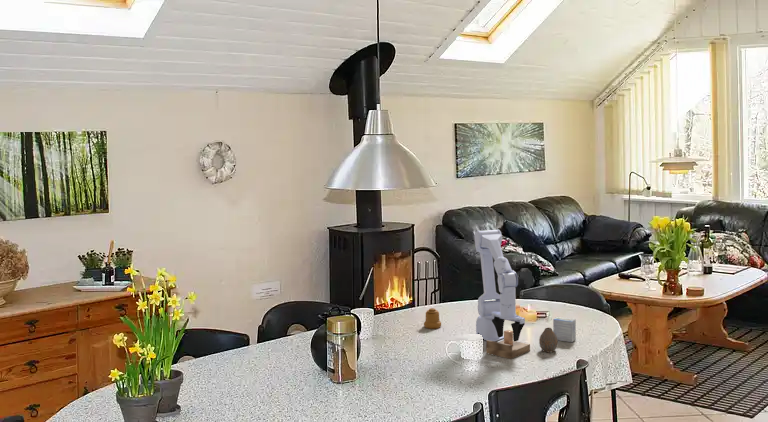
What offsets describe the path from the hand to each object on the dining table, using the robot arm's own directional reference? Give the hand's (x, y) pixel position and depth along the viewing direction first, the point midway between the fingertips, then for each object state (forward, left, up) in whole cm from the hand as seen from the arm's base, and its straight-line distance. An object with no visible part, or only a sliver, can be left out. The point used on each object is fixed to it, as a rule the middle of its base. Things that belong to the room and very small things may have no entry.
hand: (508, 338), depth 298 cm
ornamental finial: (-45, +10, -6) cm, 47 cm away
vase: (+11, +11, -5) cm, 16 cm away
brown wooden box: (0, 0, -5) cm, 5 cm away
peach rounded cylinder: (0, 0, -3) cm, 3 cm away
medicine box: (+9, +27, -6) cm, 29 cm away
